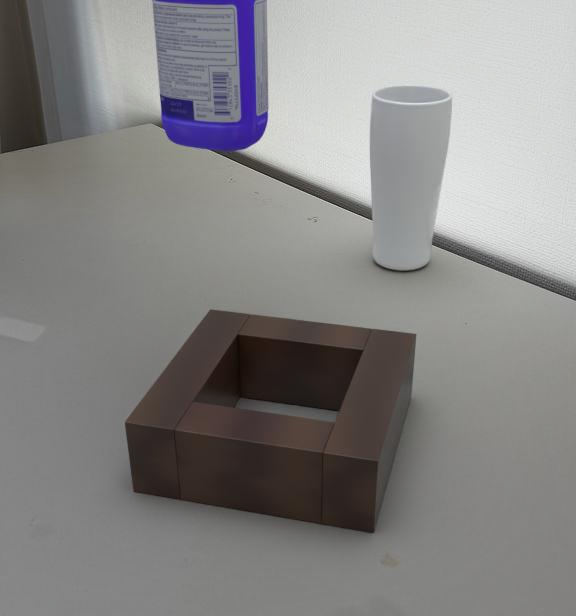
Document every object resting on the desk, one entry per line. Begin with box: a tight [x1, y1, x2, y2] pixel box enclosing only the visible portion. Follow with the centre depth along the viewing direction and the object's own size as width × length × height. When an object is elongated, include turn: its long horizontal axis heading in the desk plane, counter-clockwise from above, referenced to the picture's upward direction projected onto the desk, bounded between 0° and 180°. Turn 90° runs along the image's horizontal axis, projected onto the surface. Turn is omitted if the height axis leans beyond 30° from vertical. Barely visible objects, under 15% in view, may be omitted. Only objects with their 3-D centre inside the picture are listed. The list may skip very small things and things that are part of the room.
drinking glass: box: [368, 84, 453, 272], centre depth 76 cm, size 7×7×15 cm
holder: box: [124, 309, 417, 533], centre depth 55 cm, size 14×14×5 cm
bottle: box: [151, 0, 269, 152], centre depth 55 cm, size 7×6×17 cm
